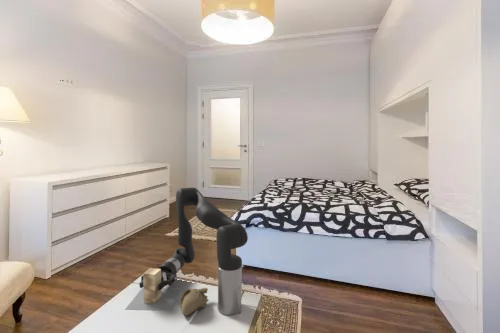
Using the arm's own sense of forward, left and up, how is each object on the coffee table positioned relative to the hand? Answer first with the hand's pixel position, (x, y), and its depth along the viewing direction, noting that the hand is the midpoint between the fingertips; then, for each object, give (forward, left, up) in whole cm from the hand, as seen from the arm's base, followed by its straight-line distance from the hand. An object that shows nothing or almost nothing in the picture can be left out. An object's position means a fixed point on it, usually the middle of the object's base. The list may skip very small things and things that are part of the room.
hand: (149, 286), depth 106 cm
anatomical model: (-18, +3, -7) cm, 20 cm away
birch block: (0, -2, -7) cm, 7 cm away
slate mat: (-1, -3, -7) cm, 8 cm away
